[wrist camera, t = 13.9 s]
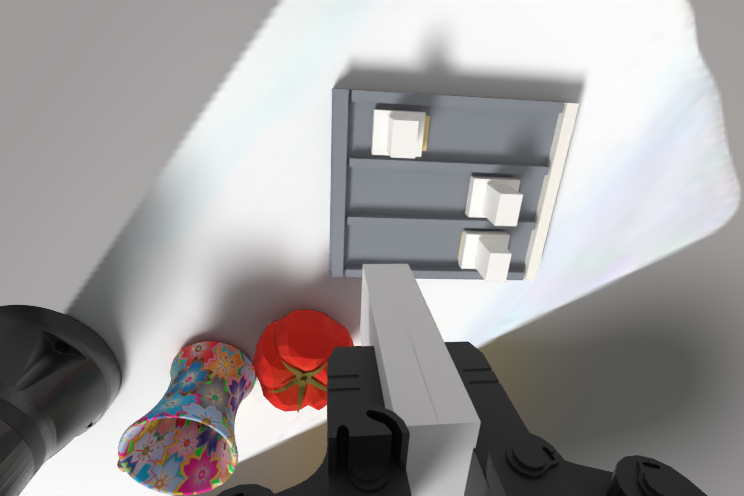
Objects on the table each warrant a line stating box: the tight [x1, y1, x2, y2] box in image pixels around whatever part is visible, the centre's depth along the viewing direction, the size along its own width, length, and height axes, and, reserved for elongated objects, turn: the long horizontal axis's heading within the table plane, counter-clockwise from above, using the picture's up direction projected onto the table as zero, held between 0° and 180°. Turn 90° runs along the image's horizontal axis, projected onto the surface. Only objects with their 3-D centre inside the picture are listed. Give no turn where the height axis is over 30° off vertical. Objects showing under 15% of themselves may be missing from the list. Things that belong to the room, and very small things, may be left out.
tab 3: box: [458, 230, 512, 282], centre depth 35 cm, size 4×3×4 cm
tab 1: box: [371, 109, 426, 158], centre depth 30 cm, size 4×3×4 cm
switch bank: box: [329, 88, 579, 280], centre depth 35 cm, size 20×16×2 cm
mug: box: [117, 341, 255, 495], centre depth 37 cm, size 12×9×11 cm
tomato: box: [253, 310, 354, 412], centre depth 37 cm, size 9×9×8 cm
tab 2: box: [465, 176, 523, 226], centre depth 33 cm, size 4×3×4 cm
